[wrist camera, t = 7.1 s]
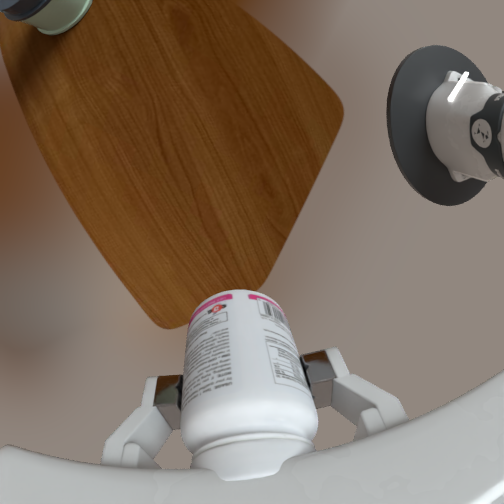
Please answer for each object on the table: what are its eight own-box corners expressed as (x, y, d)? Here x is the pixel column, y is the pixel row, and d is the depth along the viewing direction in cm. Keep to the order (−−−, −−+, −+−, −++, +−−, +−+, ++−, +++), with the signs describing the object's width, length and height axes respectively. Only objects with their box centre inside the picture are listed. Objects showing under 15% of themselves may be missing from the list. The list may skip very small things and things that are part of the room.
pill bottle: (194, 362, 15) (191, 513, 7) (182, 288, 13) (159, 472, 5) (283, 358, 15) (320, 501, 8) (290, 283, 13) (356, 453, 6)
